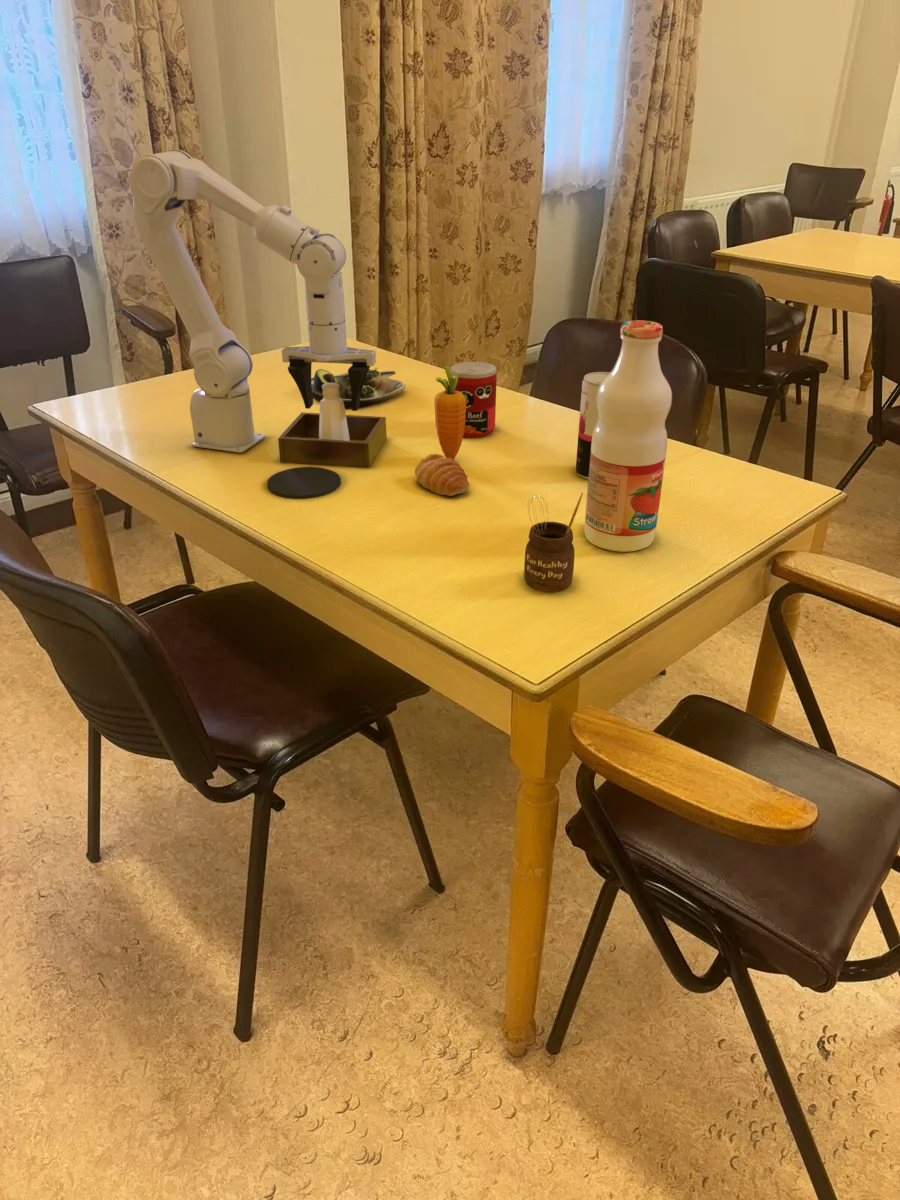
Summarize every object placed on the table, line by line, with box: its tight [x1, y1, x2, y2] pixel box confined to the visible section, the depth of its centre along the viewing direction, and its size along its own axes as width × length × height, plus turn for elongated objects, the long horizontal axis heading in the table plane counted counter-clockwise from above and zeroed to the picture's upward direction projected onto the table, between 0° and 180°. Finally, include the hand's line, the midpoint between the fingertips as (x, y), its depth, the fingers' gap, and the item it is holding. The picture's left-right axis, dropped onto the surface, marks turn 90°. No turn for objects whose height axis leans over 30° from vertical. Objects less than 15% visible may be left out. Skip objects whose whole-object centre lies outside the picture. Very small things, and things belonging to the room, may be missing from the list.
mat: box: [266, 466, 342, 499], centre depth 135 cm, size 11×11×1 cm
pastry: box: [414, 453, 470, 497], centre depth 133 cm, size 9×7×4 cm
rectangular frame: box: [277, 412, 388, 469], centre depth 146 cm, size 15×13×4 cm
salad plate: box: [311, 367, 406, 409], centre depth 173 cm, size 19×18×5 cm
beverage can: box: [575, 371, 611, 480], centre depth 135 cm, size 7×6×15 cm
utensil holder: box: [523, 492, 584, 593], centre depth 106 cm, size 6×6×12 cm
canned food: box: [450, 361, 498, 439], centre depth 152 cm, size 8×8×11 cm
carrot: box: [434, 365, 466, 461], centre depth 139 cm, size 5×5×15 cm
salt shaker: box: [318, 383, 351, 441], centre depth 144 cm, size 5×5×11 cm
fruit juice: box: [583, 319, 673, 553], centre depth 113 cm, size 9×9×28 cm
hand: (332, 407), depth 143 cm, fingers open, 7 cm apart
